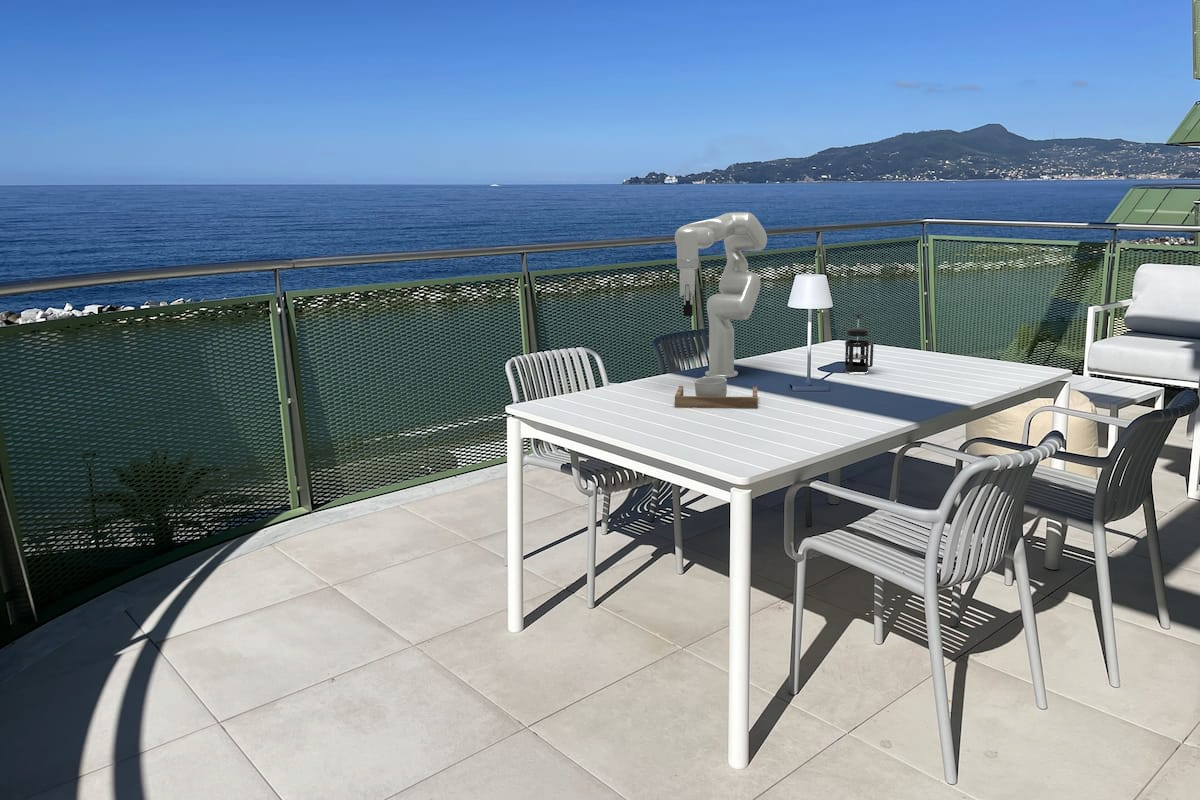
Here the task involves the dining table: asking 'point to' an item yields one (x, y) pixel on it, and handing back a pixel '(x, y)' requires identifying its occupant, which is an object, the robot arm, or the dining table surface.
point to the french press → (857, 343)
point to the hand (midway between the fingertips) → (688, 315)
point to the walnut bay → (715, 401)
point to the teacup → (711, 386)
